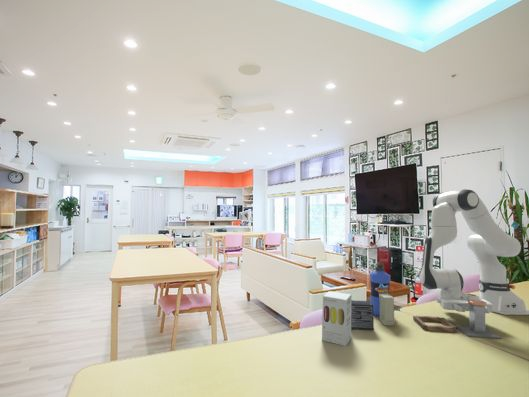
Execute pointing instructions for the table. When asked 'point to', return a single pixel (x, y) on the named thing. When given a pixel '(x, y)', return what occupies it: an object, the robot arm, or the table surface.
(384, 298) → the skincare box
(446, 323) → the brown wooden square frame
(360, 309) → the small box
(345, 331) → the supplement box
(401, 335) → the table surface
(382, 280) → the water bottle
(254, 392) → the table surface
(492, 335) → the charcoal mat
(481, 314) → the copper-capped steel post
